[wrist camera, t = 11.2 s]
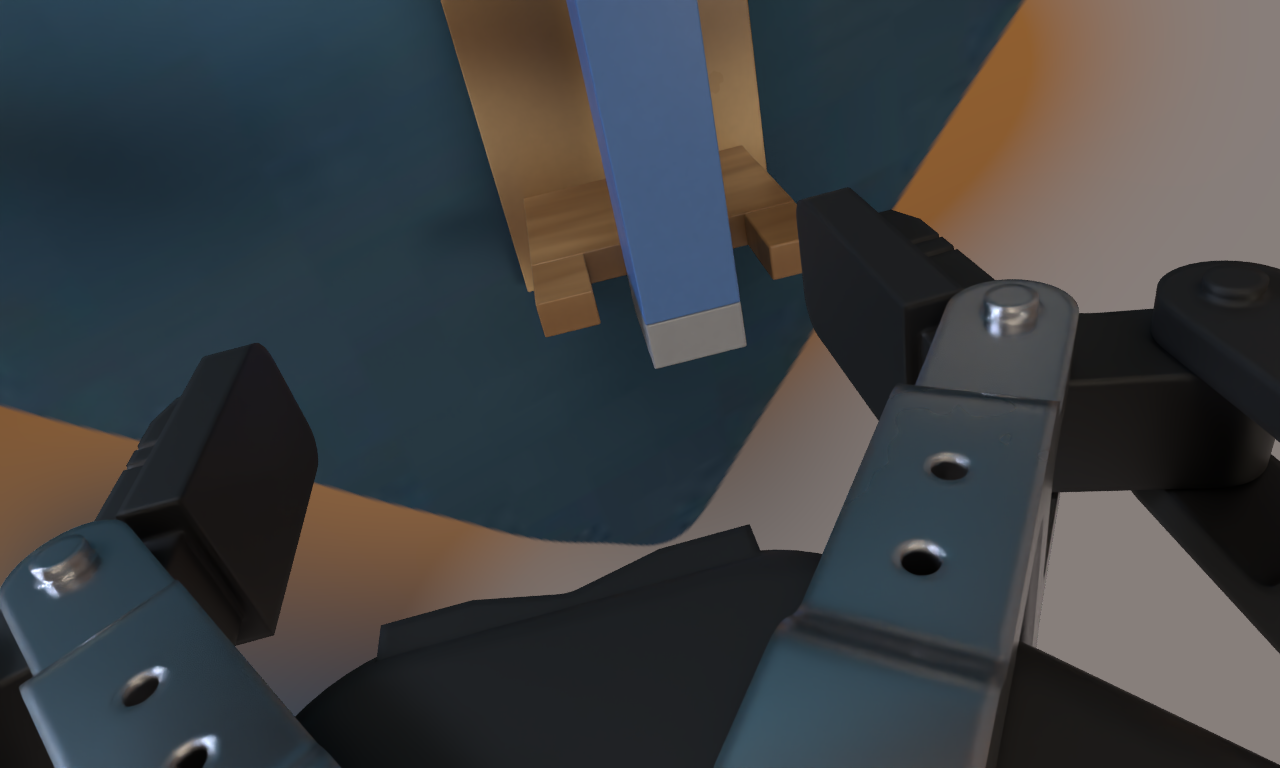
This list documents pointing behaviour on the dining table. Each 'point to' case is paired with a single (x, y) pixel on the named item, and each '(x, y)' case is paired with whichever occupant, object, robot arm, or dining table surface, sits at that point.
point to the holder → (569, 153)
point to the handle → (662, 171)
